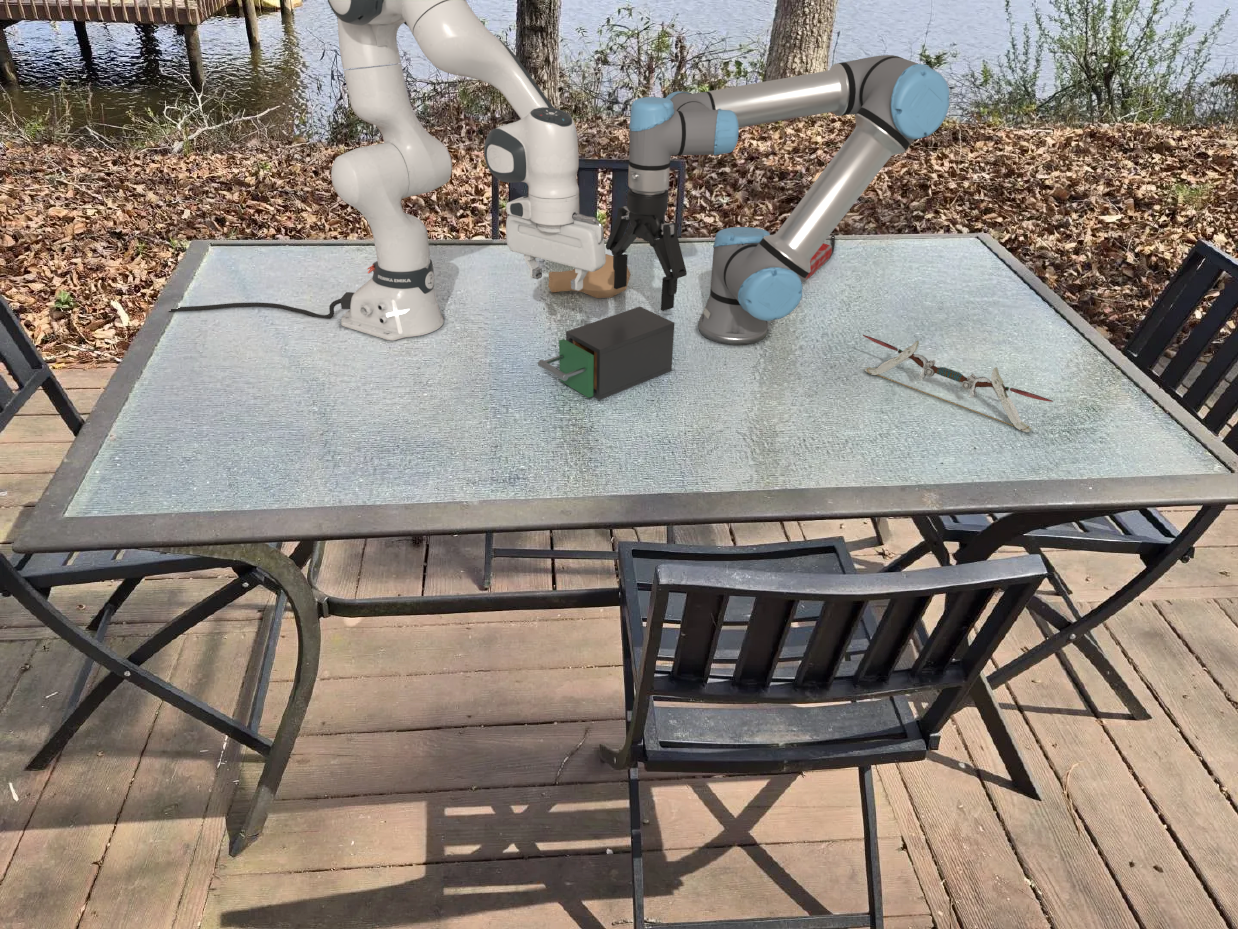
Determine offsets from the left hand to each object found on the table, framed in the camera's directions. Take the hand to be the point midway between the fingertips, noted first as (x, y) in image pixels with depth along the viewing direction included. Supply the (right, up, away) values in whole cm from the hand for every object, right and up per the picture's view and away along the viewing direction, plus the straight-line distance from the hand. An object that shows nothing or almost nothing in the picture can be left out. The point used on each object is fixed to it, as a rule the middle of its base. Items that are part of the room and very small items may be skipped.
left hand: (556, 283), depth 161 cm
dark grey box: (+12, -15, +16) cm, 25 cm away
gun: (+53, +17, +67) cm, 87 cm away
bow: (+75, -21, +11) cm, 79 cm away
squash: (+4, +8, +51) cm, 52 cm away
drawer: (+7, -16, +13) cm, 22 cm away
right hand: (+16, -1, +11) cm, 20 cm away
